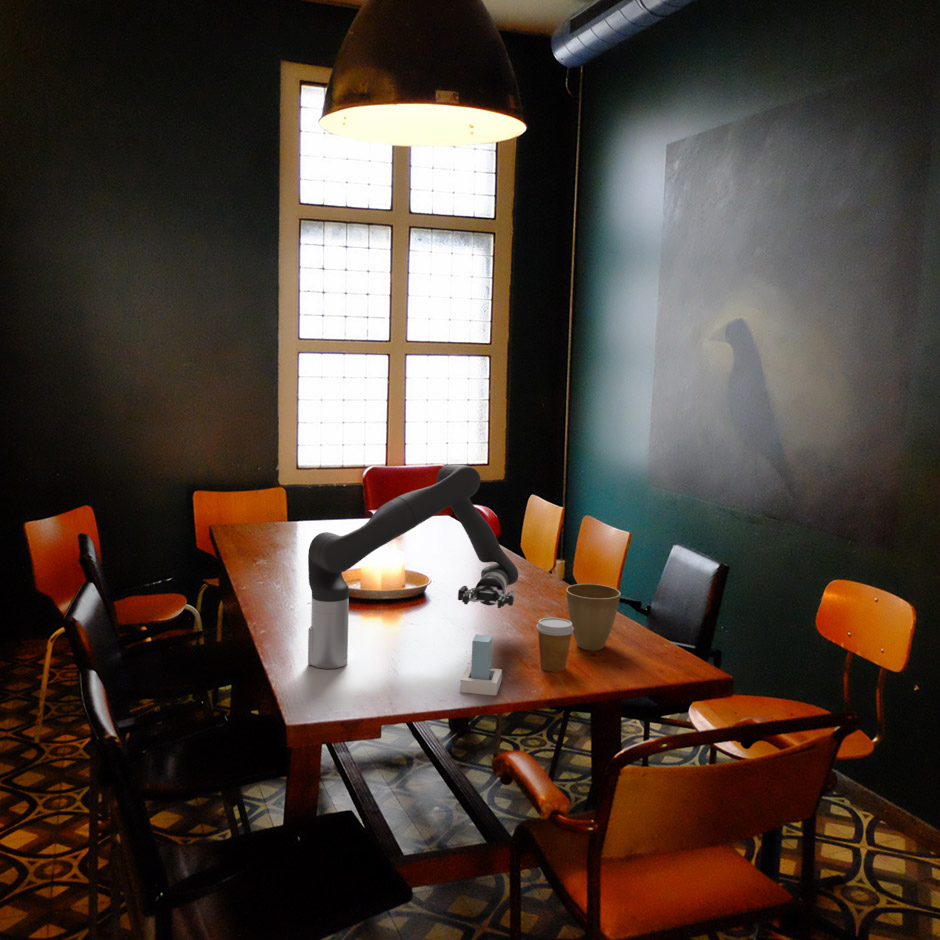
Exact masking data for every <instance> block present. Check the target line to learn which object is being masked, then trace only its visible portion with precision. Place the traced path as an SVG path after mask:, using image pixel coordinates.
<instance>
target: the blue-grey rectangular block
mask: <svg viewBox="0 0 940 940" xmlns="http://www.w3.org/2000/svg"><path fill="white" fill-rule="evenodd" d="M492 643H493V635H489V634H488V635H487V634H485V635H484V634H475V635H474V636H473V639H472V644H471V645H472V646H471V666H470V667H471V679H481V680H490V675H491V667H492V647H493V646H492V645H493V644H492Z"/></svg>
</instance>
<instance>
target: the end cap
mask: <svg viewBox="0 0 940 940" xmlns="http://www.w3.org/2000/svg"><path fill="white" fill-rule="evenodd" d="M471 667H472V666H471V665H470V666H468V665H467V666H466V668H465V670H464V672H463V675H461V678H460V687H459V692H460V693H466V694H477V695H485V696H486V695H487V696H497V695H498V692H499V690H500V687H501V683H502V677H503V669H501V668H491V675H490V680H481V679H471Z"/></svg>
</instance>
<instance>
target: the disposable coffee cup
mask: <svg viewBox="0 0 940 940" xmlns="http://www.w3.org/2000/svg"><path fill="white" fill-rule="evenodd" d="M537 622H538V623H537V624H536V629H537V632H538V635H537V636H538V646H539V659H540V660H539V661H540V668H541V669H543V670H544V671H546V672H547V671H548V672H551V671H552V672H554V673H555V672H558V671H559V672H563V671H565V670H566V667H567V660H568V656H569V650H570V645H571V639H572V638H571V637H572V634H573V630H574V628H573V626H572V622H571V621H570V619H569V620H568V619H565V618H562V617H561V618H559V617H544V618H541V619H539V620H538V621H537ZM552 672H551V673H552Z"/></svg>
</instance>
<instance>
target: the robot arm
mask: <svg viewBox="0 0 940 940" xmlns="http://www.w3.org/2000/svg"><path fill="white" fill-rule="evenodd" d="M480 486H481V475H480V473H479V471H478V470H477V469H476V468H474V467H472V466H469V465H465V464H446V465H444V466H442V467H441V468H440V469H439V471H438V472H437V475H436V483H434V484H433V485H429V486H427V487H423V488H420V489H419V488H418V489H415V490H411V491H410V492H406V493H403V494H401V495H398V496H396V497H394V498H393V499H391V500H389V501H387V502H385V503H384V504H382V505H381V506H380V507H378V508H377V510H375V512H374V513H373V514H372V516H371V517H370V518H369V519H368V521H367V522H366V523H365V524H364V525H362V526H361V527H359V528H356V529H355V530H352V531H351V532H349V533H346V534H345V535H339V534H335V533H332V532H329V531H328V532H326V531H324V532H320V533H318V534H317V535H315V537H313V539H312V540H311V542H310V544H309V548H308V555H307V559H308V562H307V564H308V565H307V567H308V583H309V587H310V590H311V620H310V621H311V623H310V624H311V626H309V627H308V629H307V630H308V631H307V632H308V637H307V638H308V639H307V665H308V666H312V667H314V668H318V669H324V670H326V669H327V670H329V669H332V670H333V669H338V668H342V667H344V666H346V665H347V664H348V656H349V655H348V653H349V651H348V647H349V613H350V612H349V610H350V609H349V608H350V605H349V602H350V601H349V600H350V599H349V598H350V596H349V595H350V589H349V585H348V584H347V581H346V580H345V579H344V576H343V572H345V571H348V570H350V569H351V568H353V567H354V566H356V565H357V564H358V563H359V562H360V561H362V560H363V559H364V558H366V557H367V556H368V555H370V554H372V553H373V552H374V551H376V550H378V549H379V548H382V547H383V546H384V545H386V544H388V543H390V542H391V541H393V540H395V539H396V538H398V537H400V536H403V535H404V534H406V533H407V532H409V531H411V530H413V529H414V528H415V527H417V526H419V525H420V524H422V523H424V522H425V521H427V520H429V519H431V518H432V517H433V516H435V515H437V514H438V513H440V512H442V511H443V510H445V509H447V508H449V507H450V508H451V510H452V511H453V513H454V514H455V516H456V518H457V519H458V521H459V523H460V524H461V526H462V528H463V530H464V531H465V533H466V536H467V537H468V538H469V539H468V540H469V541H470V543H471V546H472V548H473V550H474V552H475V554H476V556H477V558H478V560H479V561H480V562H481V563H494V564H491V565H488V566H485V567H484V568H483V569H482V570H481V573H480V576H481V578H480V580H479V581H478V582H477V584H476V586H475V587H474V588H473V587H472V588H471V589H469V588H468V586H467V585H462V587H460V588H459V589H458V592H457V593H458V594H457V601H461V603H463V604H464V605H468V603H470V602H472V603H478V602H480V604H482V605H485V606H495V605H496V606H497V608H498V609H501V608H502V607H504V606H506V604H507V605H508V606H510V607H511V606H512V607H513V606H514V602H515V600H514V599H515V591H514V590H509V591H507V588H508V586H510V585H513V584H515V583H517V581H518V579H519V571H518V568H517V566H516V565H515V563H514V562H513V561H512V560H511V559H510V558H509V557H508V555H507V554H506V552H505V551H504V550H503V548H502V547H501V546H500V543H499V541H498V538H497V537H496V535H495V532H494V531H493V529H492V527H491V526H490V524H489V523H488V521H487V520H486V519H485V518H484V517H483V516H482V514H481V513H480V512H479V511H478V510H477V509H476V507H475V506H474V504H473V502H472V500H471V497H473V496H474V495H475V494H476V493H477V492H478V490H479V488H480ZM506 591H507V592H506Z"/></svg>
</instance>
